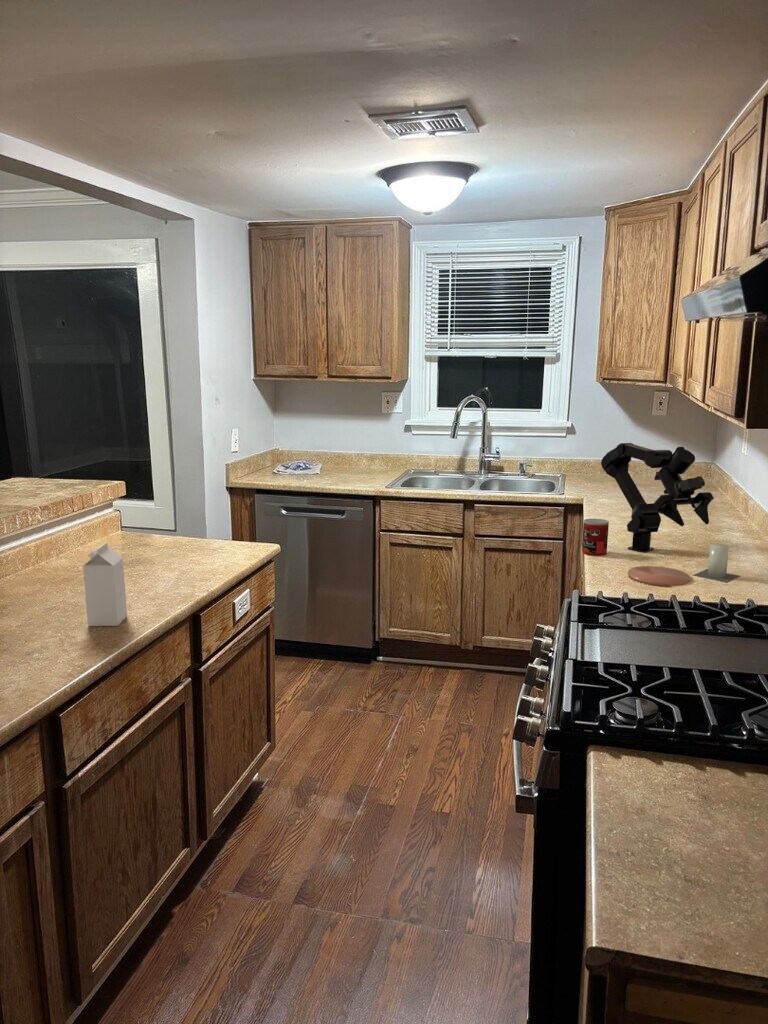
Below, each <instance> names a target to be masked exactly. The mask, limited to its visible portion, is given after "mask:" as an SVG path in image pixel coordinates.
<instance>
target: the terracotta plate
mask: <svg viewBox="0 0 768 1024" xmlns="http://www.w3.org/2000/svg"><path fill="white" fill-rule="evenodd" d="M690 576H691V575H689V574H688V573H687V572H684V571H683V570H678V569H676V568H675V569H674V568H671V567H665V566H658V565H657V566H654V565H642V566H641V565H640V566H635V567H631V568H629V569H628V570H627V577H628V578H629V579H630V580H631V581H633V582H636V581H637V582H636V583H639V582H640V584H642V583H644V584H643V585H647V584H648V586H654V587H665V588H673V586H682V585H686V584H688V583H690V581H691V577H690Z"/></svg>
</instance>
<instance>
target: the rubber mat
mask: <svg viewBox="0 0 768 1024" xmlns="http://www.w3.org/2000/svg"><path fill="white" fill-rule="evenodd" d="M692 576H693V577H698V578H703V579H708V580H713V581H715V582H721V583H725V584H726V583H727V584H728V583H730V582H732V581H734V580H736V579H739V578H740V577H741V575H738V574H734V573H729V572H727V573H726V577H725V578H715V577H710V576H708V568H706V569H704V570H701V571H699V572H697V573H694V574H692Z"/></svg>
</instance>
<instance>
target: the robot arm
mask: <svg viewBox="0 0 768 1024" xmlns="http://www.w3.org/2000/svg"><path fill="white" fill-rule="evenodd" d="M674 450H675V451H674V452H673V451H672V450H670V449H651V448H648V447H645V446H640V445H637V444H634V443H632V442H622V443H618V445H616V447H615V448H613V449H612V450H610V451H608V452H607V453H605V455H604V456H603V457H602V459H601V462H600V463H601V468H602V470H603V471H604V472H605V473H606V474H607V475H608V476H609V477H611V478H613V479H615V482H616V483H617V485H618V487H619V489H620V491H621V492H622V494H623V496H624V497H625V499H626V501H627V503H628V505H629V507H630V508H631V516H630V518H631V520H630V521H629V522H628V523H627V524H626V528H627V532H629V533H632V543H631V546H628V547H627V550H631V551H636V552H641V553H648V552H650V550H651V551H654V550H655V547H651V540H652V533H658V530H659V528H660V525H661V522H662V517H661V515H664V516H665V517H667V518H669V519H670V520H672V521H673V522H674V523H676V524H677V525H678V526H680V527H684V526H685V521H684V520H683V518H682V516H681V514H680V511H679V510H678V506H682V505H683V506H684V505H691V507H692V508H693V511H694V513H695V514H696V515H697V516H698V518H700V519H701V521H702V522H703V523H704V524H705V525H708V524H710V518H709V511H708V510H709V504H710V503H711V502H712V501H713V500H714V498H715V497H714V496H713V494H712V492H711V491H710V492H709V491H705V492H704V491H700V492H698V493H696V492H695V491H697V490H699V489H700V490H701V489H703V487H705V485H706V483H705V479H704V478H703V476H701V475H700V476H696V477H693V478H691V477H690V478H687V479H682V476H681V475H682V474H683V475H684V474H685V473H686V472H687V470H689V468H690V467H691V466H692V464H694V463H695V461H696V457H695V455H694V453H692V452H691V451H690V450H689V449H686V448H685V447H684V446H677V447H676V448H675V449H674ZM632 459H636V460H640V461H642V462H644V464H645V465H646V467H647V466H648V467H649V468H651V469H660V470H658V471H656V472H655V476H654V481H660V482H661V483H662V486H663V487H664V490H663V494H661V495H660V496H659V497H658V498H656V500H655V501H654V503H647V502H646V501H645V499H644V497H643V496H642V493H641V492H640V490H639V488H638V487H637V485H636V484H635V482H634V480H633V478H632V477H631V474H630V472H629V467H630V464H629V463H630V462H631V461H632ZM695 493H696V495H695V496H693V497H692V495H694V494H695ZM653 549H654V550H653Z"/></svg>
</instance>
